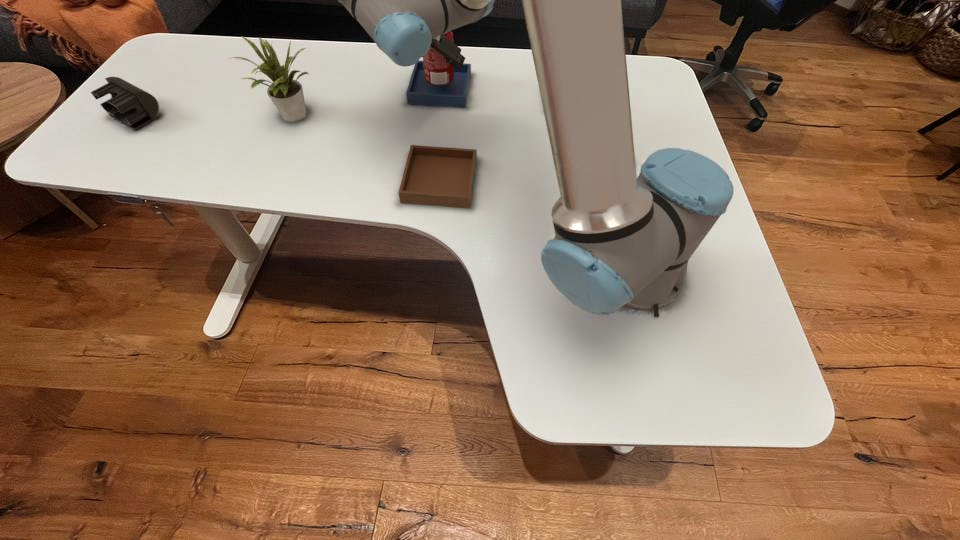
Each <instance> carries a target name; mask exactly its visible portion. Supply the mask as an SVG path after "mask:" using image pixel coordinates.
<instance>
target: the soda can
mask: <svg viewBox="0 0 960 540" xmlns="http://www.w3.org/2000/svg"><path fill="white" fill-rule="evenodd" d="M443 35H444V36H446V37H447V38H448V39H449V40H450V41H452V42H453V43H454V34H453V32H452V30H451V31H449V32H446V33H444V34H443ZM422 61H423V65H424V76H425V80H426V82H427V83H429V84H431V85H434V86H445V85H448V84H450V83H451V82H452V81H453V80H454V65H452V64H451V63H447V62H446V59H445V56H443V55H442V54H440V53H438V52H437V51H435V50H434V49H432V48H431V47H430V48H429V50H428V52H427V54H426V55H425V56H424V57H422Z"/></svg>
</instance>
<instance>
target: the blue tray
mask: <svg viewBox="0 0 960 540" xmlns="http://www.w3.org/2000/svg"><path fill="white" fill-rule="evenodd" d="M471 76H472V64H471V63H465V62H464V63H463V65H462V68H461V70H459V69H457V68H456V67H455V66H454V80H453V81H452V82H451V83H450V84H448V85H445V86H434V85H431V84H429V83H427V82H426V80H425V76H424V65H423V60H419V61H418V62H417V63H416V64H414V65H413V69H412V72H411V75H410V79H409V83H408V86H407V89H406V92H405V94H406V102H407V105H413V106H414V105H416V106H429V107H430V106H431V107H444V108H457V109H459V108H460V109H466V107H467V101H468V95H469V89H470V84H471Z"/></svg>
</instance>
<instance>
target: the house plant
mask: <svg viewBox="0 0 960 540" xmlns="http://www.w3.org/2000/svg"><path fill="white" fill-rule="evenodd" d="M240 37H241V38H242V39H243V40H244V41H245V42H247V43H248V44H249V46H251V48H252V49H253V50H254V52H255V54H256V55H257V56H258V58H260V60H262V63H260V64H257V63H255V62H254V61H252V60H250V59H249V58H245V57H241V56H234V57H229V58H227V60H229V59H235V61H236V60H238V59H240V60H243V61H247V62H248V63H251V64H253V65H254V66H256V67H255V68H253V70H251V72H250V74H253V73H254V72H255V73H254V75H256V74H257V73H259V72H260V73H262V74H264V75H265V76H267V77H268V79H270V80H271V81H272V82H271V81H270V80H266V79H260V78H259V79H256V78H253V77H242V78H241V80H244V79H245V80H251V81H252V83H251V85H250V90H252V89H253V88H255V87H257V86H258V85H260V84H261V85H265V86H267V90H266V93H267V94H266V95H268V97H269V99H270V100H271V102H272V104H273V105H274V107H275V108H276V110H277V112H278V113H279V114H280V116H281V117H282V119H283V120H284V121H286V122H291V123H295V122H298V121H301V120H303V119H304V118H306V116H307V114H308V113H307V107H306V101H305V95H304V89H303V85H302V83H301V82H300V81H298V79H299V78H300V77H302V76H304V75H310V73H309V72H308V71H304V72H303V71H301V70H297V69H296V70H295V69H294V70H291V71H290V69H291V67H292V64H293V62H294V61H295V60H296V58H297V56H298V55H299V54H300V53H301V52H303V51H304V50H306V49H307V48H306V47H304V48H300V49H298V51H296V52H295V54H294V56H290V53H291V44H292V43H291V42H292V40H290V41H289V44H288V46H287V52H286V58H285V60H284V61H285V62H284V64H282V65H281V63H280V60H279V58H278V55H277V53H276V51H275V49H274V48H273V44H271V43H273V42H274V40H272V41H271V43H270V42H269V41H268V40H267V39H263V38H261V37H260V36H259V37H258V39H259V44H260V46H261V50H262V52H261V50H260V48H259V47H258V46H257V45H256V44H255V42H253V41H252V40H250V39H248V38H246V37H245V36H240ZM296 73H300V74H299V75H298V76H297V77H296V79H294V77H295V75H296ZM264 82H267V83H264ZM268 83H270V84H268Z"/></svg>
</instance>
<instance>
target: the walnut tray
mask: <svg viewBox="0 0 960 540" xmlns="http://www.w3.org/2000/svg"><path fill="white" fill-rule="evenodd" d="M476 165H477V149H475V148H474V149H473V148H462V147H461V148H460V147H447V146H446V147H445V146H434V145H419V144H410V146H409V150H408V154H407V159H406V162H405V166H404V170H403V173H402V178H401V182H400V185H399V189H398V192H397V193H398V198H399V202H400V204H408V205H422V206H435V207H450V208H460V209H461V208H462V209H471V205H472V198H473V197H472V196H473V189H474V181H475V174H476Z"/></svg>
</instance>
